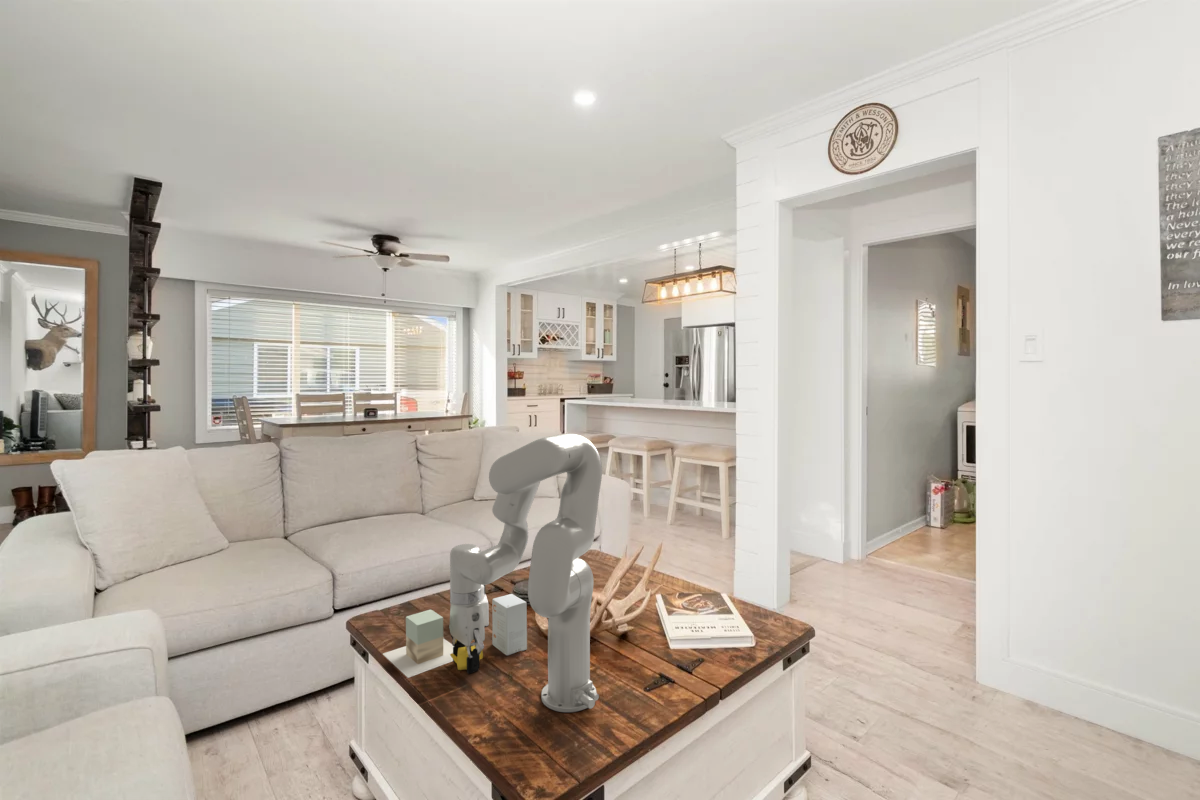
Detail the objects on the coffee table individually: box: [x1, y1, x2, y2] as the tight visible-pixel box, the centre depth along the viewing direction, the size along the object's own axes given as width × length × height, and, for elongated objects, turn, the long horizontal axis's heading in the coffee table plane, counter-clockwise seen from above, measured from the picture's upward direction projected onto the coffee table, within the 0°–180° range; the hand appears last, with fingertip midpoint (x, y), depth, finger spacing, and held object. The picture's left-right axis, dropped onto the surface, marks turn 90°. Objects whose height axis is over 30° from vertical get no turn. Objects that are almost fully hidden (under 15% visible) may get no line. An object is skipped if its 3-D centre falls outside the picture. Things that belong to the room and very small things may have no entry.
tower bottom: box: [405, 635, 444, 664], centre depth 146 cm, size 7×7×5 cm
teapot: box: [450, 645, 484, 671], centre depth 139 cm, size 8×6×5 cm
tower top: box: [405, 609, 444, 645], centre depth 146 cm, size 7×7×5 cm
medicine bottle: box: [481, 585, 490, 627], centre depth 166 cm, size 7×7×12 cm
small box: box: [491, 593, 528, 656], centre depth 150 cm, size 8×6×13 cm
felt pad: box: [382, 637, 455, 679], centre depth 146 cm, size 16×16×1 cm
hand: (466, 665), depth 140 cm, fingers closed on teapot, 6 cm apart
